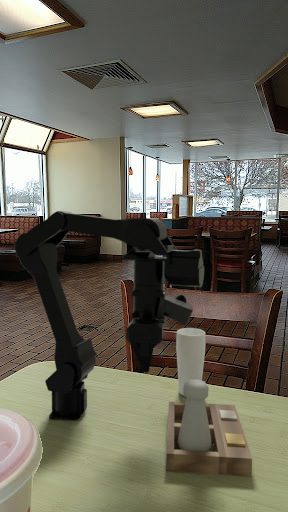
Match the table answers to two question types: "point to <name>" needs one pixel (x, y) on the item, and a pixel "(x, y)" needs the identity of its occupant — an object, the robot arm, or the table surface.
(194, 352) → the drinking glass
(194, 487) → the table surface
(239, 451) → the socket block
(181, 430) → the salt shaker
